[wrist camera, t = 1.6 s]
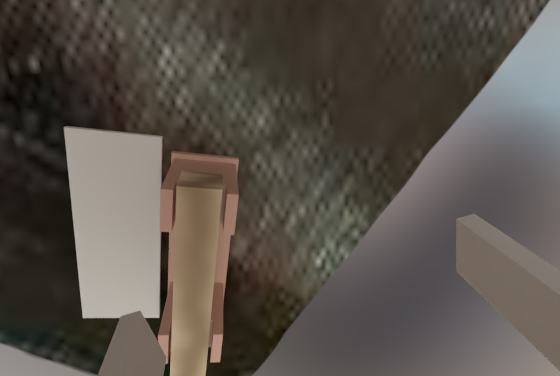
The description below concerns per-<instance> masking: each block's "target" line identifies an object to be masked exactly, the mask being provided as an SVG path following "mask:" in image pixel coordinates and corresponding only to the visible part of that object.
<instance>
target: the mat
mask: <svg viewBox="0 0 560 376" xmlns="http://www.w3.org/2000/svg"><path fill="white" fill-rule="evenodd" d="M64 134H65V144H66V154H67V164H68V174H69V184H70V194H71V204H72V214H73V224H74V234H75V244H76V254H77V264H78V274H79V284H80V294H81V304H82V314H83V318H120V317H121V316H123V315H126V314H130V313H133V312H137V311H141V312H142V314H143V316H144V318H159V317H160V285H161V231H160V188H161V186H162V160H163V136H158V135H149V134H139V133H130V132H120V131H111V130H101V129H92V128H82V127H73V126H65V127H64Z"/></svg>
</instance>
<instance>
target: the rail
mask: <svg viewBox="0 0 560 376" xmlns="http://www.w3.org/2000/svg"><path fill="white" fill-rule="evenodd" d="M222 190H223V174H215V173H203V172H192V171H182V172H181V175H180V178H179V181H178V184H177V190H176V219H175V249H174V278H173V307H172V336H171V366H170V376H205V375H206V364H207V353H208V342H209V331H210V321H211V310H212V299H213V288H214V277H215V266H216V255H217V245H218V234H219V223H220V212H221V201H222Z"/></svg>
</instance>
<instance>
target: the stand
mask: <svg viewBox="0 0 560 376" xmlns="http://www.w3.org/2000/svg"><path fill="white" fill-rule="evenodd" d="M238 164H239V157H231V156H220V155H210V154H200V153H190V152H179V151H172V153H171V166H170V169H169V171H168V173H167V175H166V177H165V180H164V182H163V184H162V186H161V188H160V231H161V232H169V263H168V295H167V299H166V304H165V308H164V312H163V317H162V321H161V325H160V330H159V334H158V343H159V345H160V346H161V348H162V350H163V352H164V354H165V355H166V357H167V358H166V363H165V364H168V360H169V354H170V349H171V336H172V307H173V278H174V249H175V219H176V190H177V184H178V181H179V178H180V175H181V172H182V171H192V172H203V173H215V174H223V190H222V201H221V212H220V223H219V234H218V245H217V255H216V266H215V277H214V288H213V299H212V310H211V321H210V331H209V342H208V347H211V361H210V362H220V356H221V347H222V339H223V302H224V293H225V283H226V274H227V265H228V256H229V247H230V237H231V235H234V233H235V224H236V215H237V206H238V197H239V192H238V182H237V173H238Z"/></svg>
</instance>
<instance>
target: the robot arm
mask: <svg viewBox="0 0 560 376" xmlns="http://www.w3.org/2000/svg"><path fill="white" fill-rule="evenodd" d="M456 271H457V272H458V273H459V274H460V275H461V276H462V277H463V278H464V279H465V280H466V281H467V282H468V283H469V284H470V285H471V286H472V287H473V288H474V289H475V290H476V291H477V292H478V293H480V294H481V295H482V296H483V297H484V298H485V299H486V300H487V301H488V302H489V303H490V304H491V305H492V306H493V307H494V308H495V309H496V310H497V311H498V312H499V313H500V314H501V315H502V316H503V317H504V318H505V319H506V320H508V321H509V322H510V323H511V324H512V325H513V326H514V327H515V328H516V329H517V330H518V331H519V332H520V333H521V334H522V335H523V336H524V337H525V338H526V339H527V340H528V341H529V342H530V343H531V344H532V345H534V346H535V347H536V348H537V349H538V350H539V351H540V352H541V353H542V354H543V355H544V356H545V357H546V358H547V359H548V360H549V361H550V362H551V363H552V364H553V365H554V366H555V367H557V369H558V370H560V271H559V270H558V269H556V268H555V267H553V266H552V265H550V264H549V263H547V262H546V261H544V260H543V259H541V258H540V257H538V256H537V255H535V254H534V253H532V252H531V251H529V250H527V249H526V248H525V247H523V246H522V245H520V244H519V243H517V242H516V241H514V240H513V239H511V238H510V237H508V236H507V235H505V234H504V233H502V232H501V231H499V230H498V229H496V228H495V227H493V226H492V225H490V224H489V223H487V222H486V221H484V220H483V219H481V218H480V217H478V216H477V215H475V214H471V215H468V216H465V217H461V218H457V221H456ZM166 358H167V357H166V355H165V354H164V352H163V350H162V348H161V346H160V345H159V343H158V341H157V339H156V338H155V336H154V334H153V332H152V330H151V329H150V327H149V325H148V323H147V321H146V320H145V318H144V316H143V314H142V312H141V311H137V312H133V313H130V314H126V315H123V316H121V317H120V320H119V322H118V325H117V327H116V330H115V333H114V335H113V338H112V340H111V343H110V345H109V348H108V351H107V353H106V356H105V358H104V361H103V363H102V366H101V369H100V371H99V374H98V376H163V374H164V368H165V363H166Z"/></svg>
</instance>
